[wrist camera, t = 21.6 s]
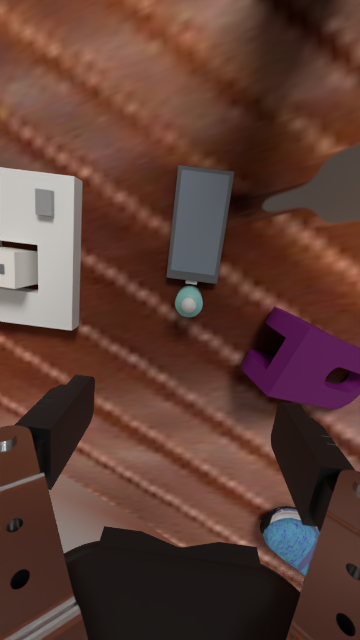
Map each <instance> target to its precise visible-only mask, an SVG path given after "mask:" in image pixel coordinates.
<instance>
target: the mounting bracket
mask: <svg viewBox="0 0 360 640" xmlns="http://www.w3.org/2000/svg"><path fill="white" fill-rule="evenodd" d="M265 323H266V324H267V325H269V326H270V327H271V328H273V329H274V330H276V331H277V332H279V333H280V334H282V335H283V336H284V337H286V339H285V341H284V342H283V344H282V346H281V347H280V349H279V350H278V352H277V354H276V355H275V357H274V358H273V357H271V356H269V355H267V354H264V353H262V352H260V351H257V350H253V349H250V350H249V351H248V353H247V354H246V356H245V358H244V360H243V361H242V363H241V365H240V366H241V369H242V370H243V372H244V373H245V374H246V375H247V376H248V377H249V378H250V379H251V380H252V381H253V382H254V383H255V384H256V385H257V386H258V387H259V388H260V389H261V390H262V391H263V392H264V393H265V394H266V395H267V396H268V397H273V398H278V399H283V400H288V401H293V402H298V403H303V404H308V405H313V406H318V407H323V408H328V409H338V408H341V407H343V406H345V405H347V404H349V403H350V402H352V401H353V400H354V399H355V398H357V397H358V396H359V395H360V348H358V347H356V346H354V345H352V344H350V343H348V342H345V341H343V340H341V339H338V338H336V337H334V336H332V335H330V334H329V333H327V332H325V331H323V330H321V329H319V328H318V327H316V326H314V325H312V324H310V323H308V322H306V321H304V320H302V319H301V318H299V317H296V316H294V315H292V314H290V313H288V312H286V311H284V310H282V309H280V308H277V307H274V308H273V310H272V312H271V313H270V315H269V317H268V318H267V320H266V322H265ZM338 367H341V368H344V369H347V370H350V374H349V376H348V378H347V379H346V380H345V381H344V382H342V383H340V384H334V383H331V382H327V381H325V379H326V377H327V375H328V374H329V373H330V372H331V371H332V370H333V369H335V368H338Z"/></svg>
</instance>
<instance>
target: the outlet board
mask: <svg viewBox="0 0 360 640" xmlns="http://www.w3.org/2000/svg"><path fill="white" fill-rule="evenodd" d="M81 218H82V181H81V180H79V179H78V178H76V177H74V176H66V175H58V174H50V173H42V172H33V171H25V170H17V169H9V168H1V167H0V247H2V241H10V242H18V243H26V244H34V245H38V290H37V289H29V288H17V289H12V288H5V287H0V321H1V322H9V323H16V324H24V325H32V326H40V327H47V328H55V329H63V330H71V331H72V330H73V329H75V328H76V327H78V326H79V301H80V260H81Z"/></svg>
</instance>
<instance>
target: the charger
mask: <svg viewBox="0 0 360 640" xmlns="http://www.w3.org/2000/svg"><path fill="white" fill-rule="evenodd" d="M35 284H38V251H33V250H26V249H19V248H13V247H0V287H5V288H12V289H17V288H21V287H26V286H30V285H35Z"/></svg>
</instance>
